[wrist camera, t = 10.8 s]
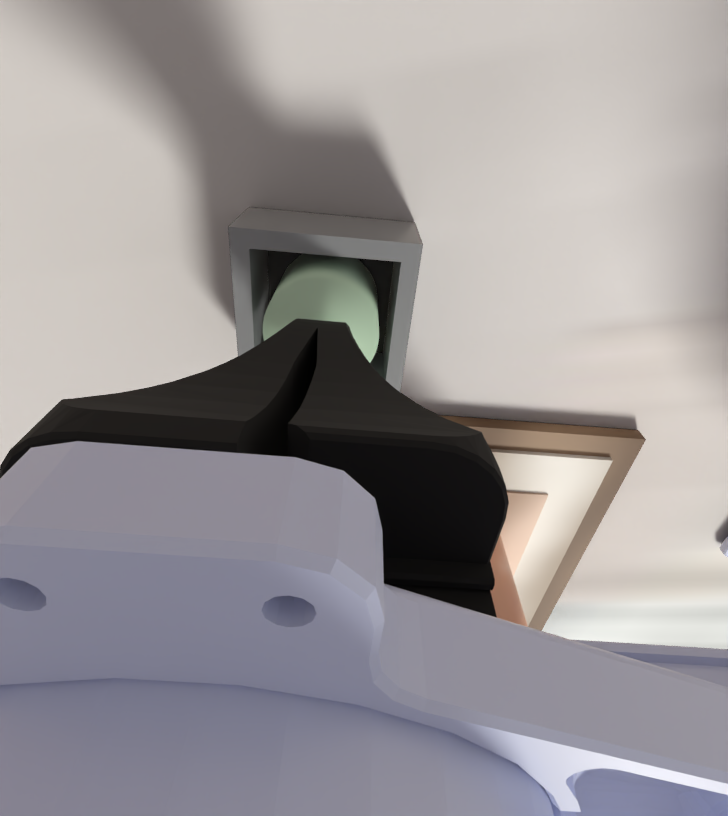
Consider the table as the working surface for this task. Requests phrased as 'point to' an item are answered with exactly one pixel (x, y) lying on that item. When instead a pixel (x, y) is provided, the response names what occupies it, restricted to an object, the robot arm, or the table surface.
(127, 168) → the table surface
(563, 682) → the robot arm
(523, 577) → the beige flat tray
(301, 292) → the button
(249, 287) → the button housing
